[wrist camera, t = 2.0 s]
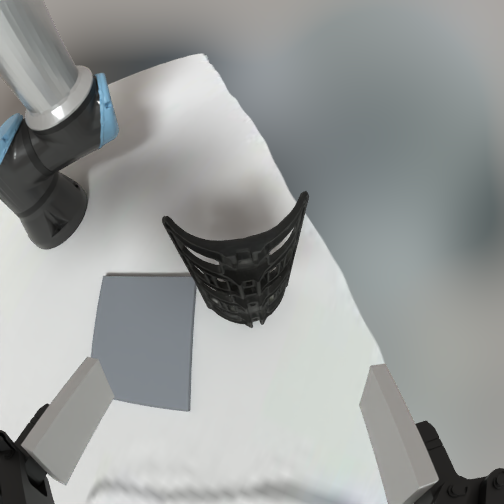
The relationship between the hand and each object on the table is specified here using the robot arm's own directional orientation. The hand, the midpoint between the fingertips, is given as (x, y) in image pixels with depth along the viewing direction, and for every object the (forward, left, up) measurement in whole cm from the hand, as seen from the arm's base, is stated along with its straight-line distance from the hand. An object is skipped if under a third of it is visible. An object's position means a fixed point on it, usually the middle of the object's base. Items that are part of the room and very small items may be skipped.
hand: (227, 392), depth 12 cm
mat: (-5, -15, -22) cm, 27 cm away
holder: (-11, 0, -22) cm, 25 cm away
